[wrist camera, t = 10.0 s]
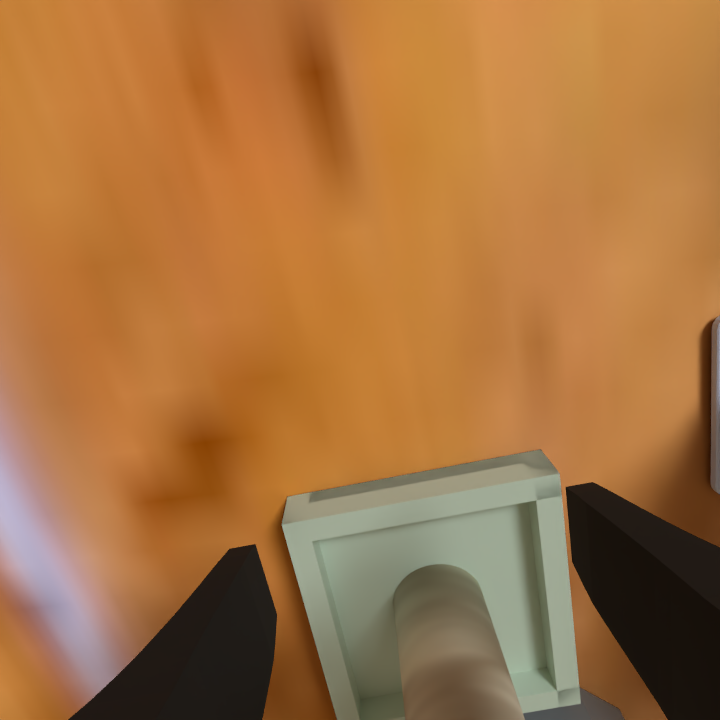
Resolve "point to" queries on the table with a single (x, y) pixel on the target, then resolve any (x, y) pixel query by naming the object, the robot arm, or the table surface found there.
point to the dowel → (450, 649)
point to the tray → (429, 547)
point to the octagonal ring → (579, 710)
